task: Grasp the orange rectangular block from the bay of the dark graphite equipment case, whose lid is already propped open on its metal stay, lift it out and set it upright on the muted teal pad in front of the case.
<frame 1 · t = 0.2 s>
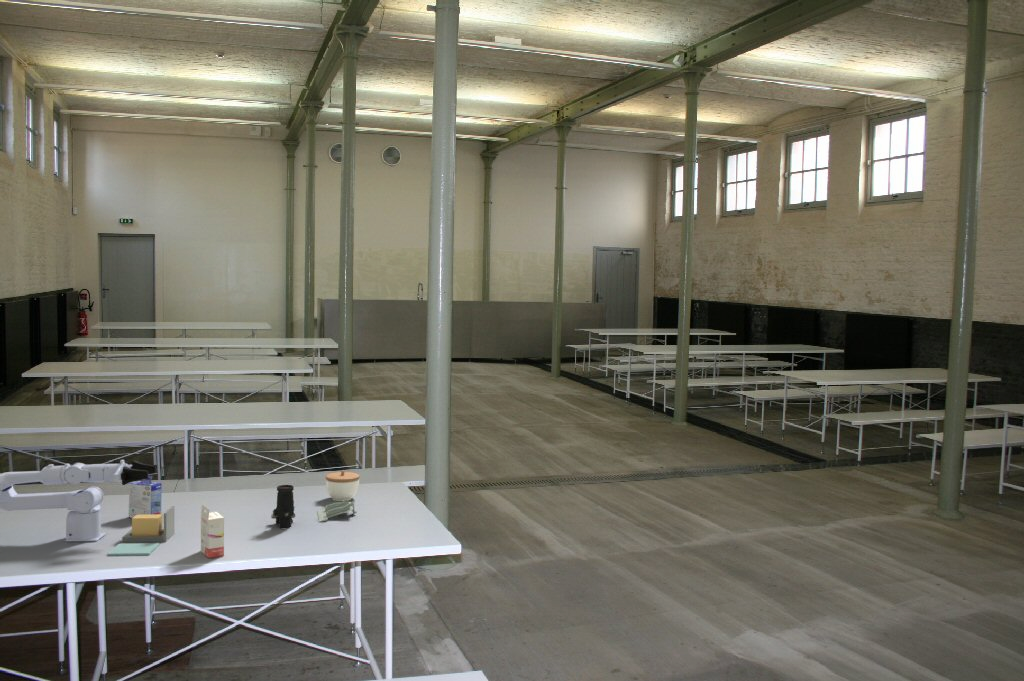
hand: (151, 471, 269), 21 cm above the table, tool horizontal, fingers open, 7 cm apart
metal bracket: (335, 517, 302), on the table
orange rectangular block: (147, 538, 270), resting in equipment case
lidded bowl: (342, 499, 325), on the table
ink cartridge box 2: (212, 554, 256), on the table
teal pad: (134, 550, 258), on the table
equipment case: (147, 537, 270), on the table
ink cartridge box: (145, 518, 293), on the table
scope: (284, 526, 287), on the table
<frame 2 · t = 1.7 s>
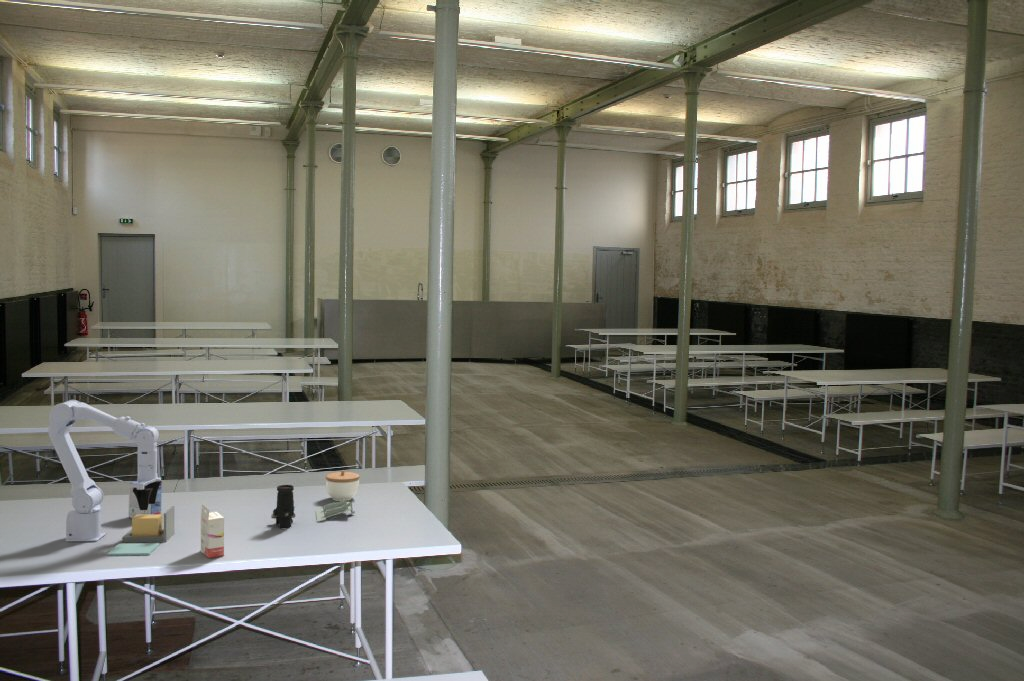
hand: (147, 506, 270), 10 cm above the table, tool pointing down, fingers open, 7 cm apart
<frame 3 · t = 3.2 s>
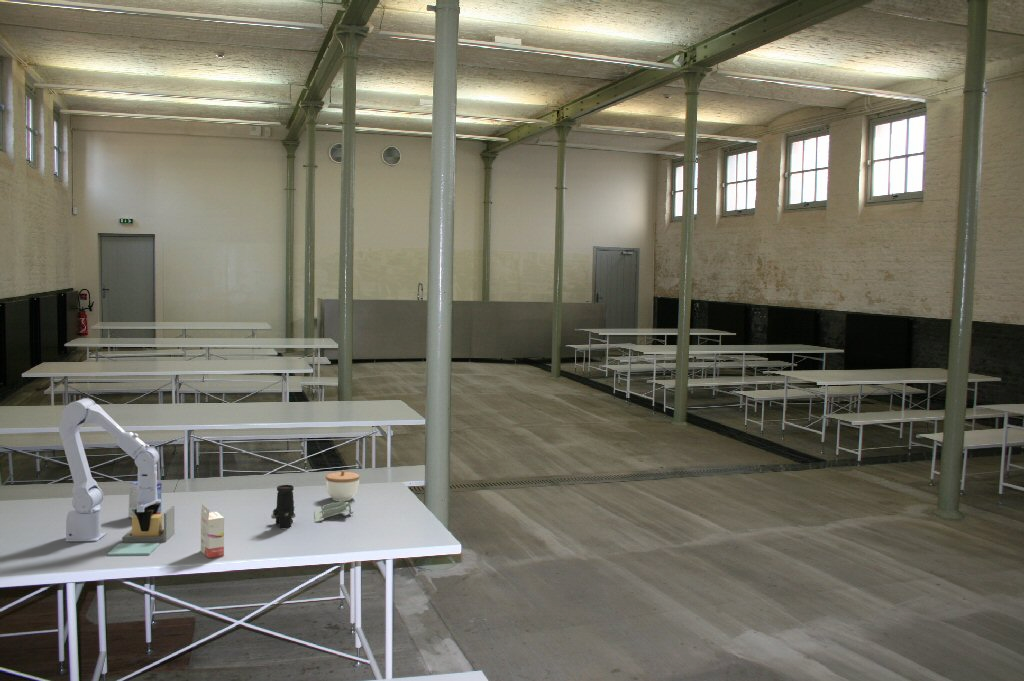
hand: (147, 528, 270), 3 cm above the table, tool pointing down, fingers closed on orange rectangular block, 4 cm apart
orange rectangular block: (147, 537, 270), resting in equipment case, touching gripper
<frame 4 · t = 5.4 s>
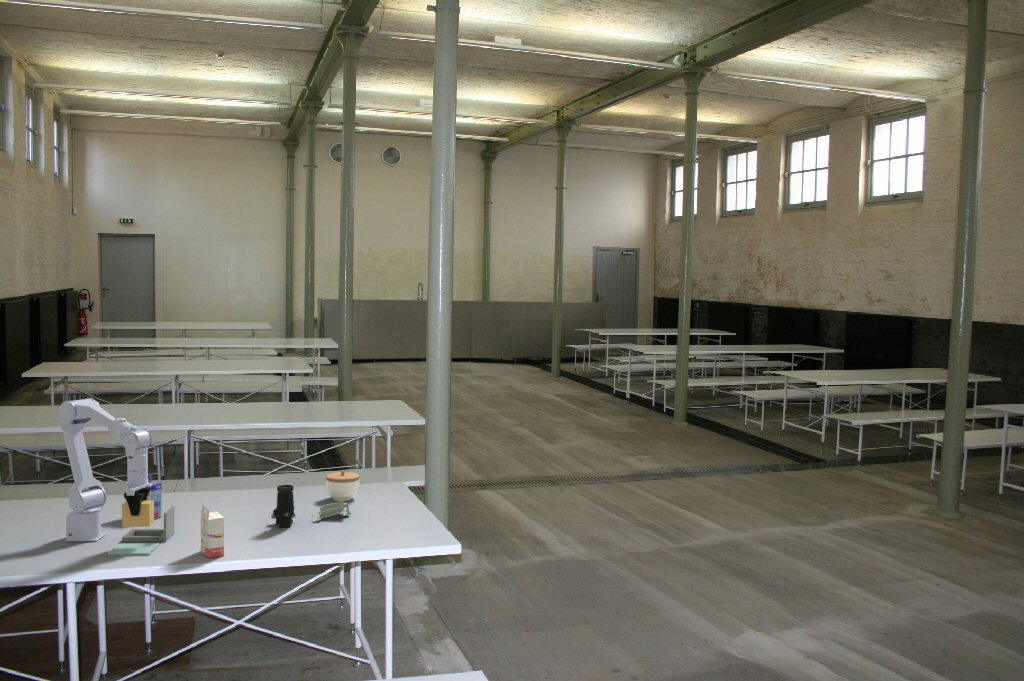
hand: (137, 513, 260), 10 cm above the table, tool pointing down, fingers closed on orange rectangular block, 4 cm apart
orange rectangular block: (138, 524, 261), point 7 cm above the table, touching gripper
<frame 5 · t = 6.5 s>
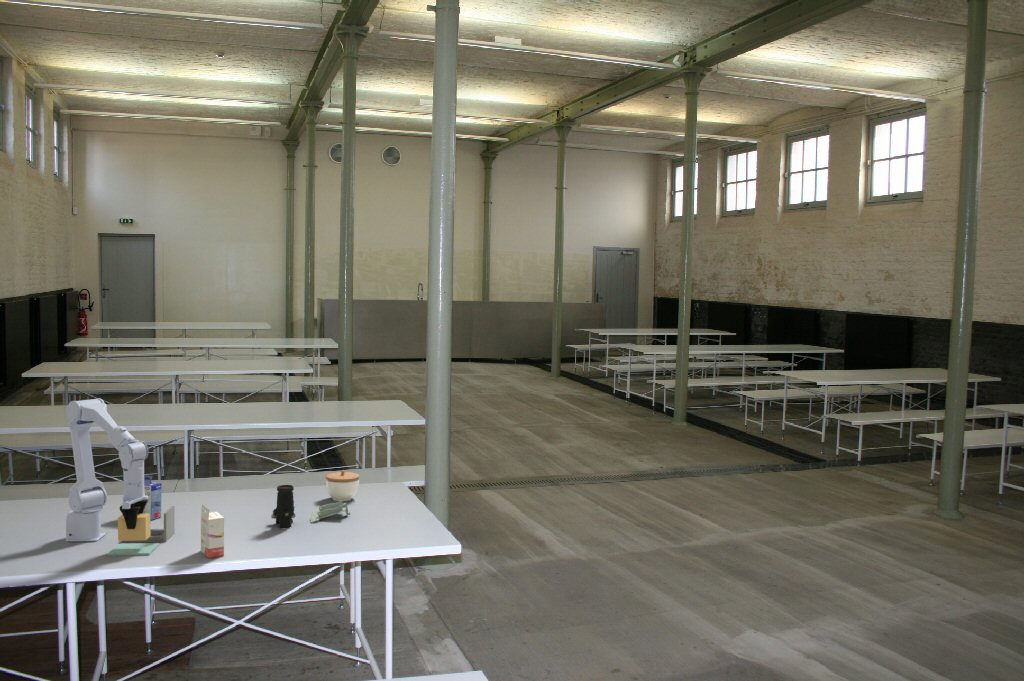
hand: (134, 526, 257), 7 cm above the table, tool pointing down, fingers closed on orange rectangular block, 4 cm apart
orange rectangular block: (134, 538, 257), point 4 cm above the table, touching gripper
when the fingers open (5 cm above the table, at t = 7.5 s): orange rectangular block stays where it is, resting on teal pad.
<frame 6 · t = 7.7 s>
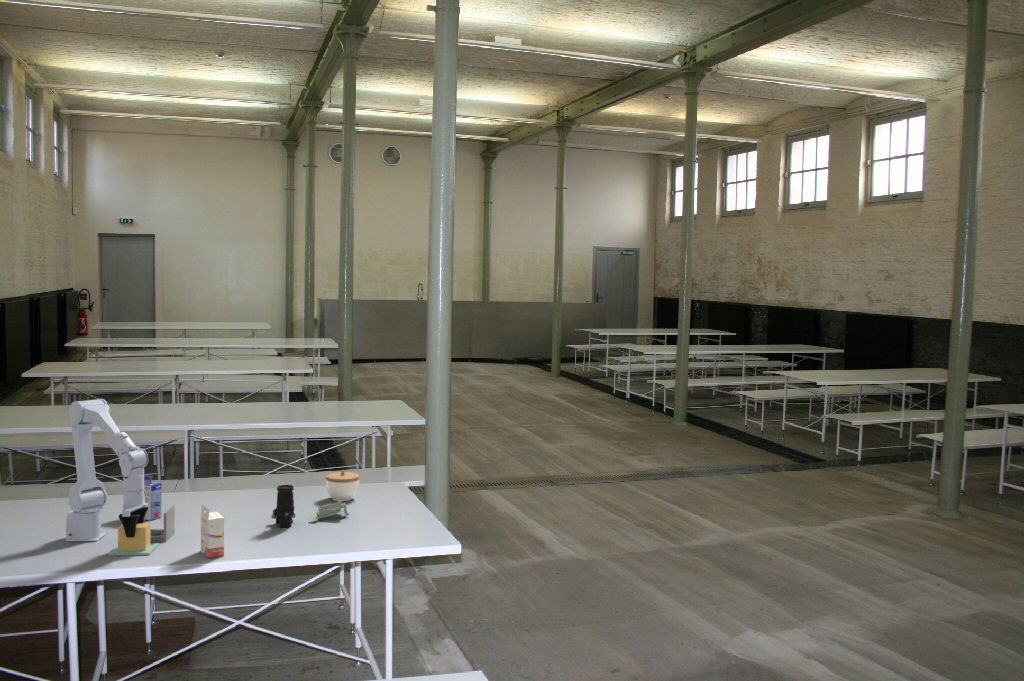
hand: (133, 534, 257), 5 cm above the table, tool pointing down, fingers open, 6 cm apart
orange rectangular block: (134, 548, 258), point 1 cm above the table, touching teal pad
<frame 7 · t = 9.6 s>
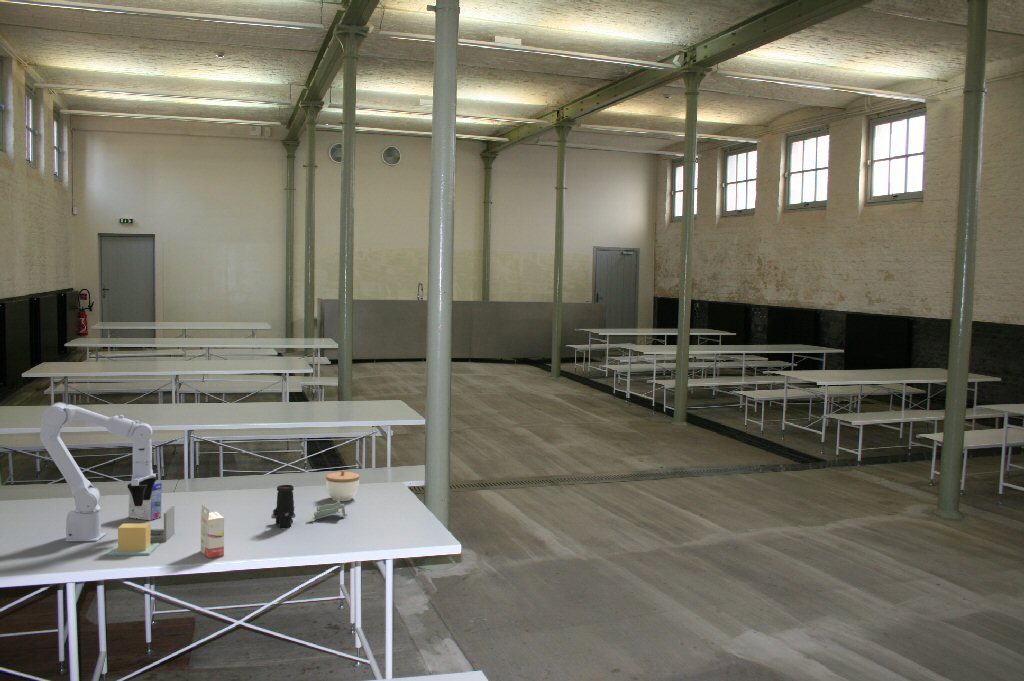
hand: (142, 502, 273), 10 cm above the table, tool pointing down, fingers open, 7 cm apart
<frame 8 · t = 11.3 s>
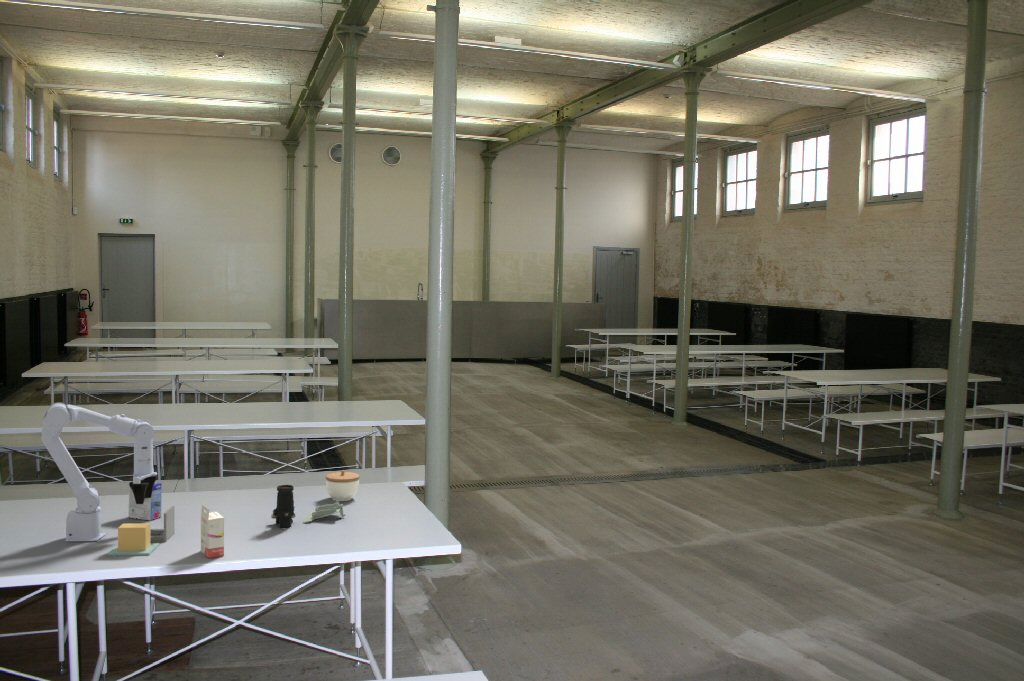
hand: (143, 500, 275), 10 cm above the table, tool pointing down, fingers open, 7 cm apart
at the end: orange rectangular block inside the target area on the teal pad (0.1 cm from its centre), point 0.6 cm above the teal pad's base; orange rectangular block tilted 0°; the gripper is holding nothing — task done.
